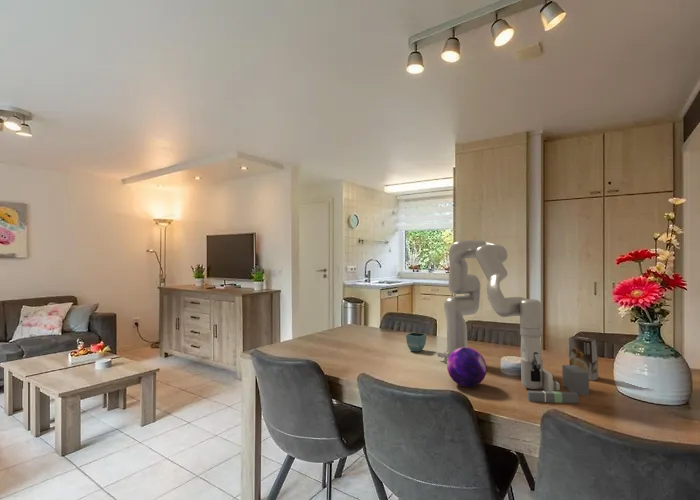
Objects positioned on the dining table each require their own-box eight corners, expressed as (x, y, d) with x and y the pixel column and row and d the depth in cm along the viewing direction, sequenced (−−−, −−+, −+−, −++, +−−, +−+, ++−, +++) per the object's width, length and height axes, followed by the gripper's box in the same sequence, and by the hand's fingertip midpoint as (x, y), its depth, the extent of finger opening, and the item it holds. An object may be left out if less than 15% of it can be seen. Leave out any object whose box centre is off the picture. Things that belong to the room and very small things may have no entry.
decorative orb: (452, 377, 157) (452, 341, 157) (490, 383, 149) (489, 345, 150) (442, 388, 144) (441, 349, 144) (482, 395, 136) (481, 354, 137)
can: (545, 390, 138) (545, 358, 138) (524, 389, 139) (523, 357, 140) (539, 383, 145) (539, 352, 145) (519, 382, 147) (518, 352, 147)
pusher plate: (553, 398, 131) (552, 378, 132) (537, 383, 148) (536, 365, 148) (570, 399, 131) (569, 379, 131) (551, 383, 147) (551, 365, 147)
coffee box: (599, 377, 153) (598, 339, 154) (593, 381, 150) (592, 341, 150) (575, 372, 161) (574, 335, 161) (568, 375, 157) (567, 337, 157)
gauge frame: (529, 401, 130) (528, 378, 130) (514, 383, 148) (513, 363, 148) (600, 404, 127) (600, 380, 127) (576, 385, 144) (575, 365, 145)
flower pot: (427, 349, 204) (426, 333, 204) (421, 353, 197) (420, 336, 197) (412, 348, 209) (411, 332, 209) (405, 351, 201) (405, 335, 202)
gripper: (514, 327, 152) (515, 370, 151) (527, 336, 135) (529, 385, 134) (533, 327, 151) (534, 371, 150) (550, 336, 133) (551, 386, 133)
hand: (531, 377), depth 142 cm, fingers closed on can, 7 cm apart
